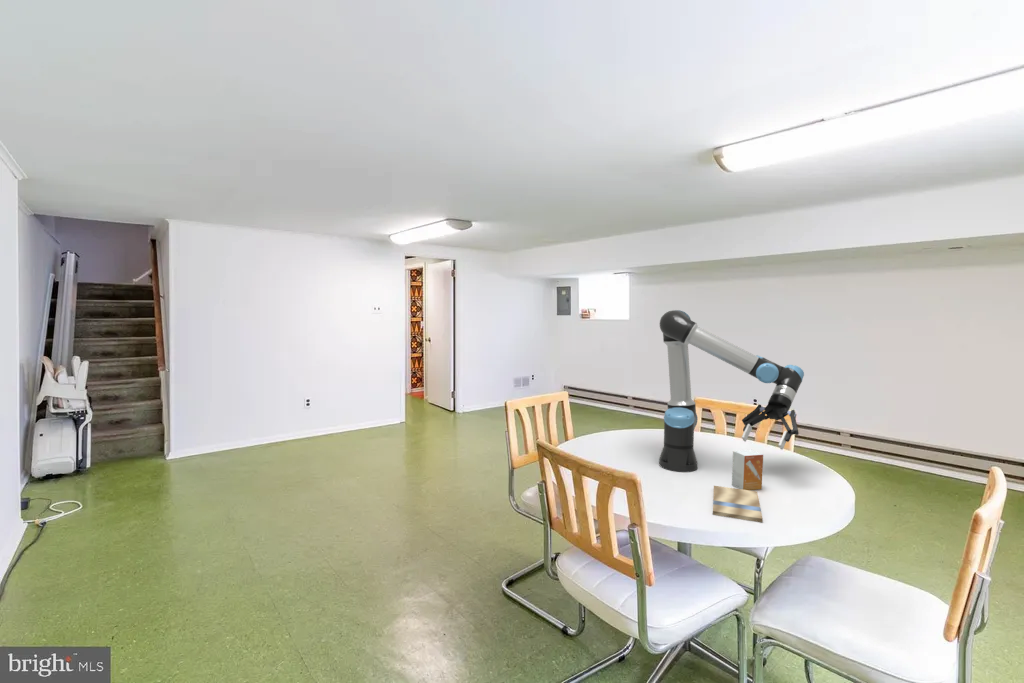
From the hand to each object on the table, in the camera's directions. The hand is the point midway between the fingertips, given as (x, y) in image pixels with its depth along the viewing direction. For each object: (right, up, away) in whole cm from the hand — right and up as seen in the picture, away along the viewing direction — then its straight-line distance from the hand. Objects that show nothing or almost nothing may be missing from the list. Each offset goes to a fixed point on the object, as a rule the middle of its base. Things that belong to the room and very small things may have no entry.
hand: (761, 443), depth 179 cm
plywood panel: (-19, -16, -20) cm, 32 cm away
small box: (-8, -15, -5) cm, 18 cm away
